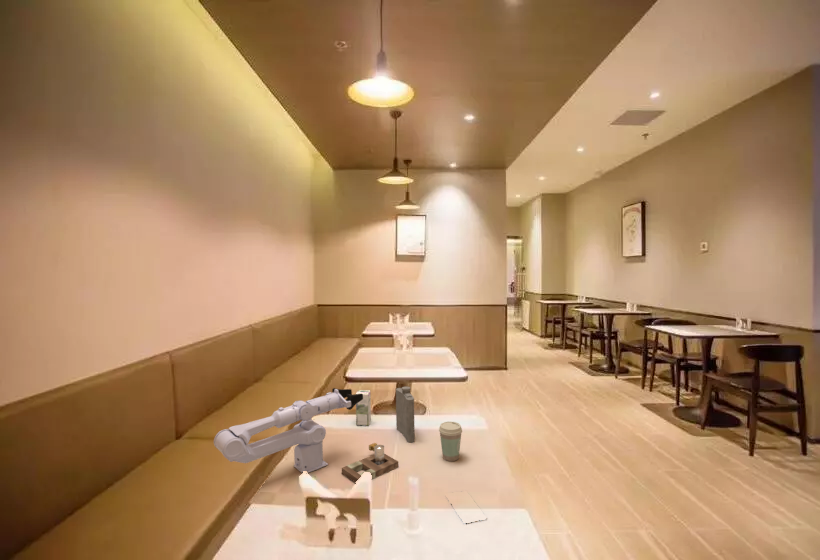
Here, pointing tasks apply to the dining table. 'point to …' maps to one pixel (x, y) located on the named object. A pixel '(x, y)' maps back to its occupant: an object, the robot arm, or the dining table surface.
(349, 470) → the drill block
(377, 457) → the frosted round dowel plug
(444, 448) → the coffee cup
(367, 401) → the syrup box
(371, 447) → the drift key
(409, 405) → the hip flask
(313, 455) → the robot arm
